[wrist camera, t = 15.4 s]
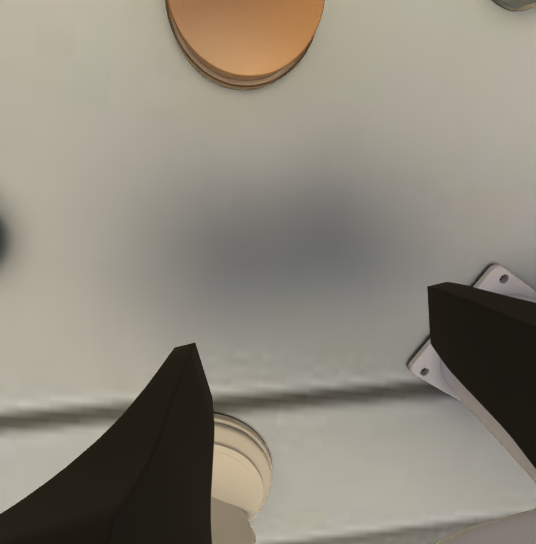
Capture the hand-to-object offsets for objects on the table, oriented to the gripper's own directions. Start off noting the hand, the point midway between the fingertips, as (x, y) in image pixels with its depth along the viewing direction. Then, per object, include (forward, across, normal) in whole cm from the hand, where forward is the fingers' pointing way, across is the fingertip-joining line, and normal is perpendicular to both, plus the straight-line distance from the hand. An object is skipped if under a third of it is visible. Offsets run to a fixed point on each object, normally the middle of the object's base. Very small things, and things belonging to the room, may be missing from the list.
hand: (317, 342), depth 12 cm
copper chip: (+8, -1, -11) cm, 13 cm away
